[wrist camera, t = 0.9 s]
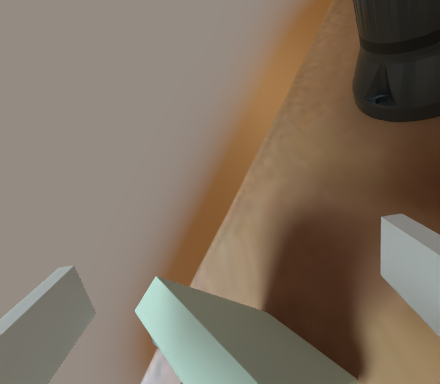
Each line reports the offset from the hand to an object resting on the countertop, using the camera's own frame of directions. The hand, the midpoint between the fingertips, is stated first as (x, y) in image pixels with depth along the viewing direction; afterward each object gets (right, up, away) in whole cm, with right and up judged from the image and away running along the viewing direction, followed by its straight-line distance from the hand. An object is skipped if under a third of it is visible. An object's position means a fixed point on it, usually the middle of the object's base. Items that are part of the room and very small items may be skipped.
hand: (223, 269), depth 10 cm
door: (+8, -13, +14) cm, 21 cm away
